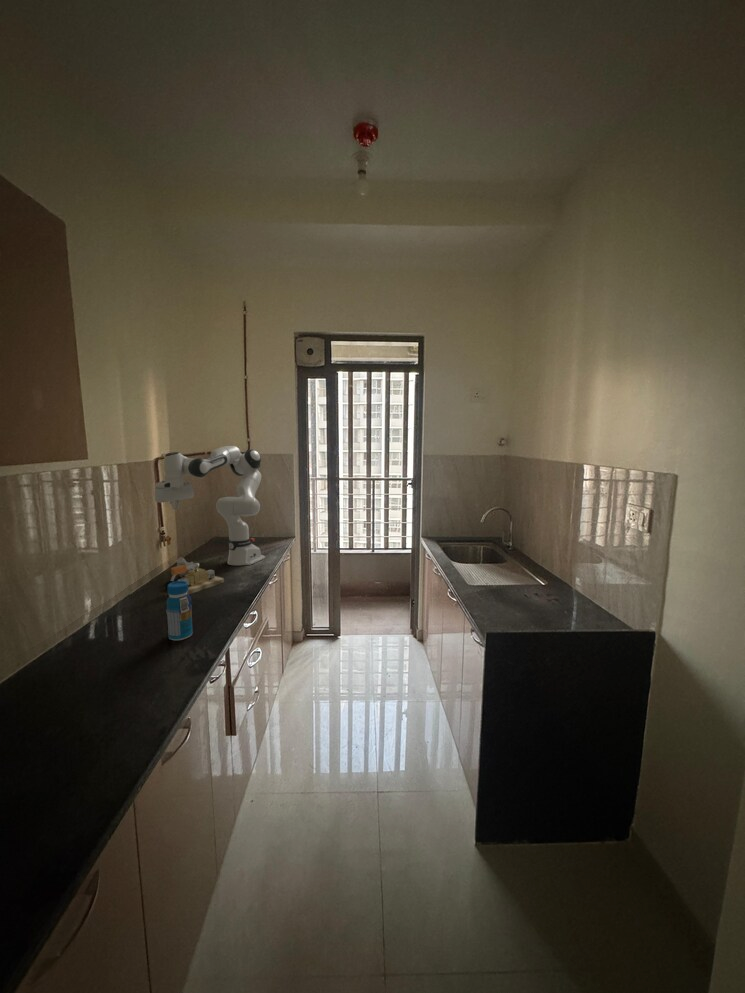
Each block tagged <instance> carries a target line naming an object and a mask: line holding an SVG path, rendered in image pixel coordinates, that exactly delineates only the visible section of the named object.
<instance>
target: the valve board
mask: <svg viewBox="0 0 745 993" xmlns="http://www.w3.org/2000/svg"><path fill="white" fill-rule="evenodd" d="M222 583H225V577H220V576H217V575H215V578H214V579H209V580H208V581H206V582H203V583H200V584H197V585H194V586H188V592H187V593H188V595H189V596H190V595H192V594H195V593H198V592H201V591H203V589H204V590H206V589H209V588H212V587H214V586H217V585H220V584H222Z"/></svg>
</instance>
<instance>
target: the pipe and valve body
mask: <svg viewBox="0 0 745 993" xmlns="http://www.w3.org/2000/svg"><path fill="white" fill-rule="evenodd" d="M215 576H216V575H215V569H214V570H213V569H208V570H206V569H204V568H200V567H195V569H193V570H190V571H188V574H187V575H185V578H178V579H177V581H186V582H187V583H188V586H194V585H197V584H200V583H203V582H206V581H208V580H209V579H214V578H215Z"/></svg>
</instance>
